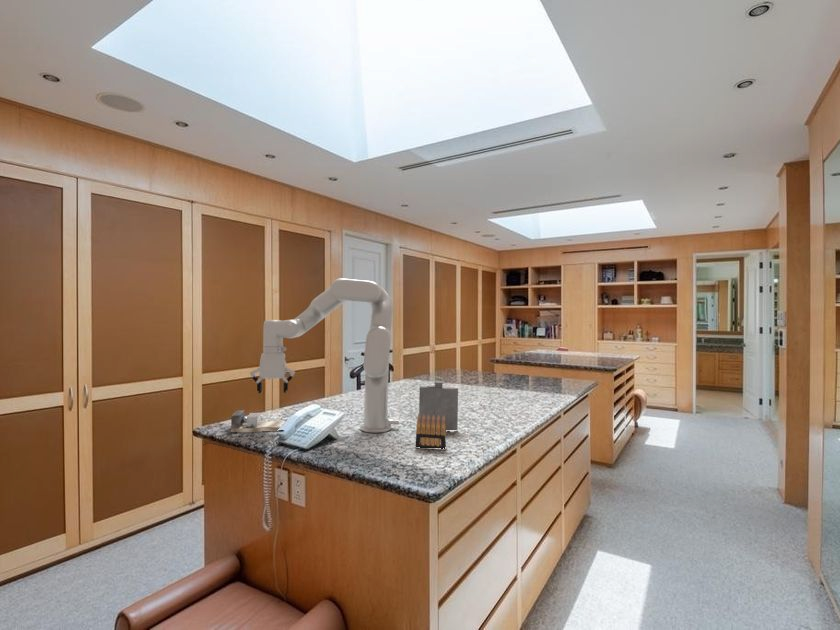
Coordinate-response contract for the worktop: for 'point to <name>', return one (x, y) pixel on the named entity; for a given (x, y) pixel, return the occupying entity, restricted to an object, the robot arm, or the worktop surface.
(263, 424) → the gauge base
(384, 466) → the worktop surface
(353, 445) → the worktop surface
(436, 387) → the hip flask
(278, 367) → the robot arm
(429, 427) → the ammunition clip
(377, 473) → the worktop surface
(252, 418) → the gauge carriage
